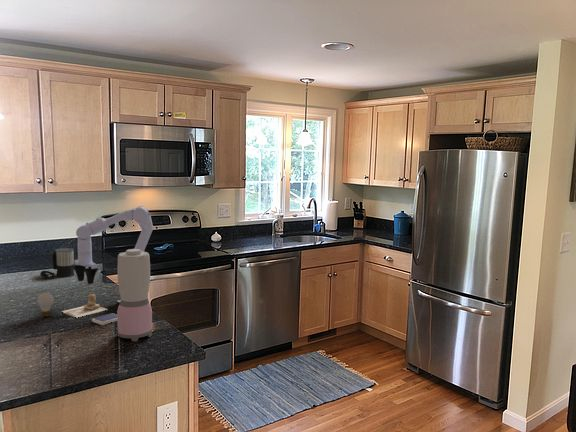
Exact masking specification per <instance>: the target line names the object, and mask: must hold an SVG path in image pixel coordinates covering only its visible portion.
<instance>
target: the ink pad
mask: <svg viewBox="0 0 576 432" xmlns="http://www.w3.org/2000/svg"><path fill="white" fill-rule="evenodd" d="M91 322H93V323H95V324H98V325H100V326H104V325H107V324H112V323H115V322H117V313H116V314H115V313H113V312H112V313H111V312H110V313H107V314H103V315H99V316H96V317H93V318H91ZM111 322H112V323H111Z"/></svg>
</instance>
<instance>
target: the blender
mask: <svg viewBox="0 0 576 432" xmlns="http://www.w3.org/2000/svg"><path fill="white" fill-rule="evenodd" d="M150 258H151V257H150V253H149V252H147V251H144V252H142V251H141V250H140V249H134V248H131V249H130V248H129V249H127V250H125V252H123V251H122V252H120V253H119V254H117V269H116V270H117V285H118V286H117V287H118V291H119V295H120V300H121V302H120V303H119V305H118V307H117V311H116V312H117V313H116V315H117V321H116V323H117V336H119V337H120V338H122V339H131V342H132V341H134V342H138V341H139V338H144V337H147V338H150V337H152V335H153V311H152V310H153V309H152V305H151V303H150V301H149V291H150V284H151V262H150V260H151V259H150Z"/></svg>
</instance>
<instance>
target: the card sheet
mask: <svg viewBox="0 0 576 432" xmlns="http://www.w3.org/2000/svg"><path fill="white" fill-rule="evenodd" d="M105 310H106V311H108V310H109V309H108V308H105V307H102V306H100V308H98V309H95V310H92V311H91V310H86V309H84V305H82V306H79V307H74V308H70V309H65V310H62V311H61V313H62V312H63V313H62V314H65V315H67V316H70V317H73V318H75V317H76V319H78V317H79V318H82V316H83V317H86V315H87V316H89V315H93V314H96V313H101V312H104V311H105Z"/></svg>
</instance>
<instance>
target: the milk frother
mask: <svg viewBox="0 0 576 432" xmlns="http://www.w3.org/2000/svg"><path fill="white" fill-rule="evenodd" d="M74 250H75V249H74V248H72V247H61V248H57V249H55V250H54V251H52V254H51V257H52V268H53V270H56V273H55V272H52V271H50V270H42V271H41V272H40V273H39V274H40V276H41V277H42V278H43V279H54V277H55V276H56V277H58V278H59V277H60V278H68V277H73V276H74V275H76V273H75V270H74V269H73V266H75V264H74V260H75V259H74V258H75V257H74V256H75V255H74Z"/></svg>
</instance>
